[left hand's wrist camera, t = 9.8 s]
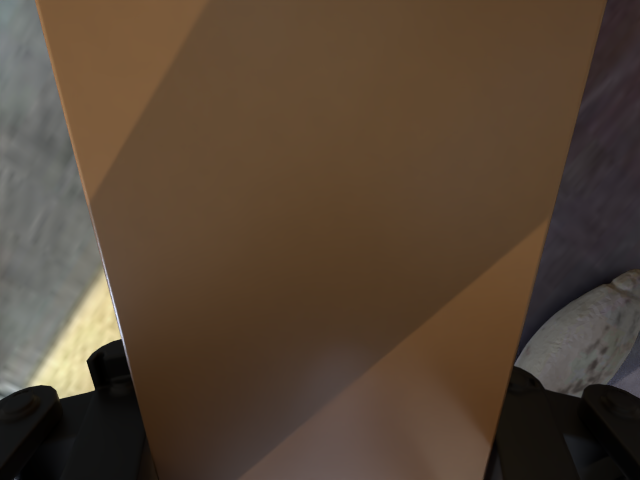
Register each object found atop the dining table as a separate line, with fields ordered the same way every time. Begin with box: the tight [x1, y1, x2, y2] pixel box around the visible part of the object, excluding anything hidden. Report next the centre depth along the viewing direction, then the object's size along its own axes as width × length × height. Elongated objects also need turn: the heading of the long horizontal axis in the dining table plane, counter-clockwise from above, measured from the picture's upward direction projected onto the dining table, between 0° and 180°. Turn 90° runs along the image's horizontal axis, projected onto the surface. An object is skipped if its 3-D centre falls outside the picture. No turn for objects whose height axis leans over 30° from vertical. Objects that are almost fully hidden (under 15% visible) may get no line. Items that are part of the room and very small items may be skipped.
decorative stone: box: [514, 269, 640, 398], centre depth 26 cm, size 6×16×3 cm, turn 157°
